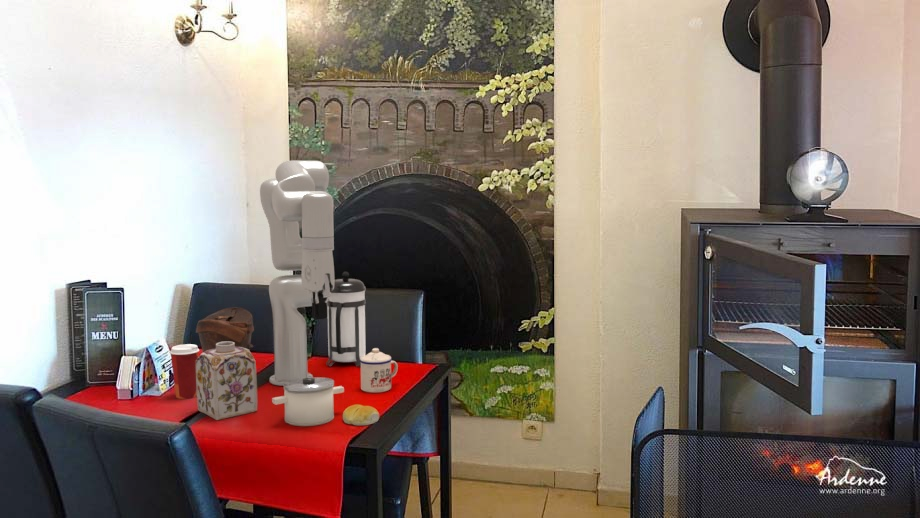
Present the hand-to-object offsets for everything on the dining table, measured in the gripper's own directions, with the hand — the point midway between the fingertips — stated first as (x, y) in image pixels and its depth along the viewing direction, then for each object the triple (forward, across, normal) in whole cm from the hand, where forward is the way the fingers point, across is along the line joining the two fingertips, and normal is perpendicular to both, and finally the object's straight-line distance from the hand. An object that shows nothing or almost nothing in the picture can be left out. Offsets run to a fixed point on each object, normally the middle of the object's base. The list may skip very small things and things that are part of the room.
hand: (319, 318), depth 185 cm
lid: (+18, -3, -2) cm, 18 cm away
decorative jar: (+26, -21, -17) cm, 38 cm away
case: (+27, -68, -3) cm, 74 cm away
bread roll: (+26, +6, +8) cm, 28 cm away
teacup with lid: (+26, -18, +26) cm, 41 cm away
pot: (+26, -3, -2) cm, 26 cm away
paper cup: (+27, -41, -22) cm, 54 cm away
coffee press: (+27, -49, +30) cm, 63 cm away
